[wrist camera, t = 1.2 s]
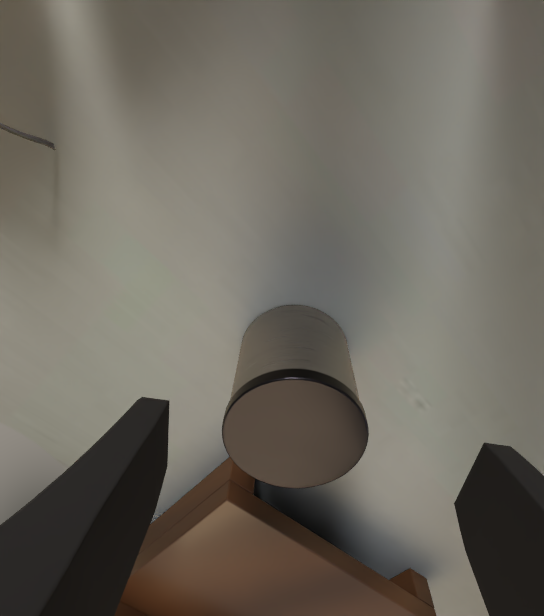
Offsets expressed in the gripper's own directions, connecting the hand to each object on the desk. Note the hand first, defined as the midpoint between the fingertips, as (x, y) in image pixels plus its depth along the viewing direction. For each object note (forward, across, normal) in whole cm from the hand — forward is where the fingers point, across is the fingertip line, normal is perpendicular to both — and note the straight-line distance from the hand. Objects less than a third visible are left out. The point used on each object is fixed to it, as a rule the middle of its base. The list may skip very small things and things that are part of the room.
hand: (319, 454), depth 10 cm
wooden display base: (+10, -1, +20) cm, 22 cm away
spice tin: (+10, 0, +4) cm, 10 cm away
